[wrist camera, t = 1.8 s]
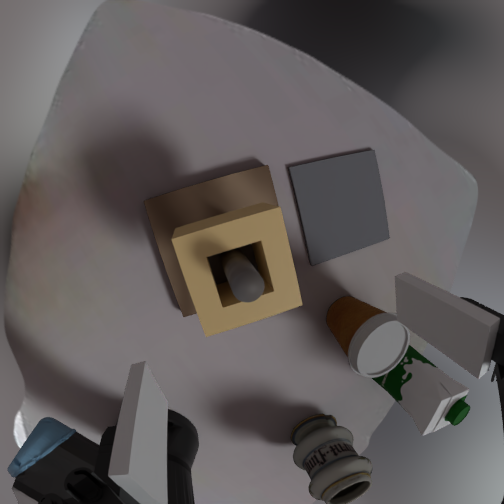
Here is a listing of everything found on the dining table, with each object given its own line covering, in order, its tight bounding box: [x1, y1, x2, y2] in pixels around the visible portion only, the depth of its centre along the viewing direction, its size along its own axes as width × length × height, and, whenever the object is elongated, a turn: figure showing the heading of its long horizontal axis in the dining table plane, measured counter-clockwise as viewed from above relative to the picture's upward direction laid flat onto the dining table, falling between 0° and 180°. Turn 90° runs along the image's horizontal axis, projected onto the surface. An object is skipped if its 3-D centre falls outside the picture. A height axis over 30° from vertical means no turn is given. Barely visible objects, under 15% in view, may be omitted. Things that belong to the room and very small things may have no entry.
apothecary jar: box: [291, 414, 372, 504], centre depth 42 cm, size 12×12×18 cm
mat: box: [289, 150, 390, 266], centre depth 41 cm, size 14×14×1 cm
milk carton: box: [372, 345, 470, 436], centre depth 41 cm, size 9×9×20 cm
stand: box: [144, 165, 278, 317], centre depth 30 cm, size 16×16×18 cm
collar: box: [172, 202, 303, 337], centre depth 27 cm, size 9×9×6 cm
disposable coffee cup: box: [326, 296, 410, 378], centre depth 40 cm, size 10×10×12 cm
